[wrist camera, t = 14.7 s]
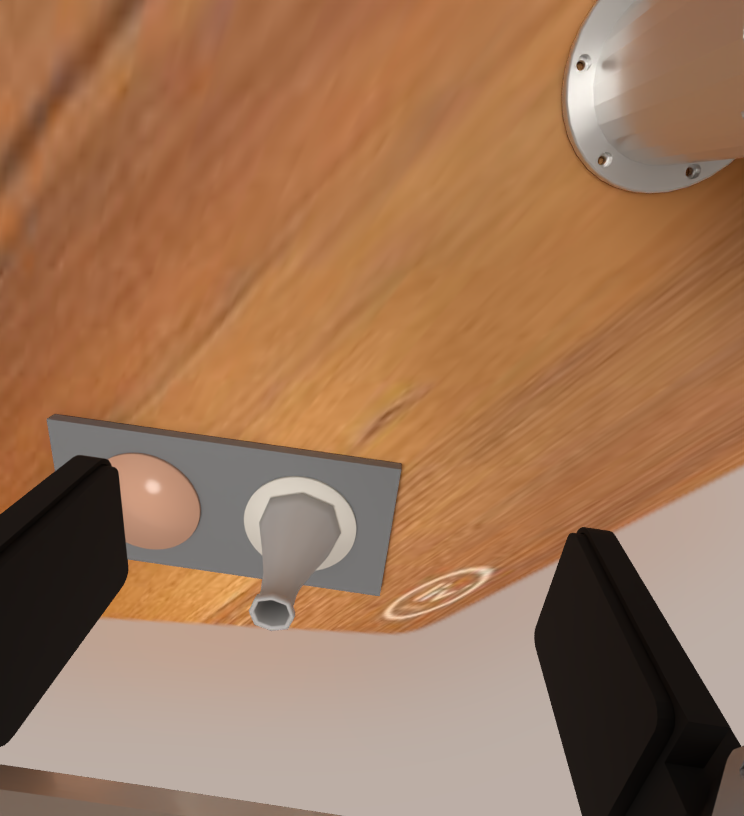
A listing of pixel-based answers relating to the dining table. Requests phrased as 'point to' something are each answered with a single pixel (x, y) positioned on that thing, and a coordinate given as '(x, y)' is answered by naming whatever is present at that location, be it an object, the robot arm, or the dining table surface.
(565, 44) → the dining table surface
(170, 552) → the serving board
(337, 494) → the cream coaster
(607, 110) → the robot arm
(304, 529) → the flask
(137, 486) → the peach domed disc
